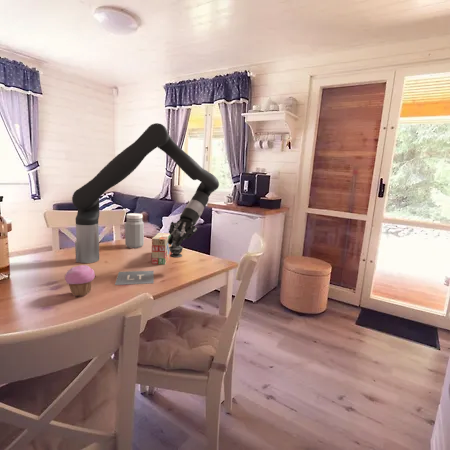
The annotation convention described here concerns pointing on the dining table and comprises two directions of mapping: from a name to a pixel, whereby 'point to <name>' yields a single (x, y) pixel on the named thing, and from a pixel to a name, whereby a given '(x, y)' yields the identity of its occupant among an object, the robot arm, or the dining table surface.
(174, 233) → the grey chess piece
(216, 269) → the dining table surface
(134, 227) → the jar
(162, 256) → the stack of blocks
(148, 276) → the mat
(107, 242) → the dining table surface
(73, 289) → the cupcake
